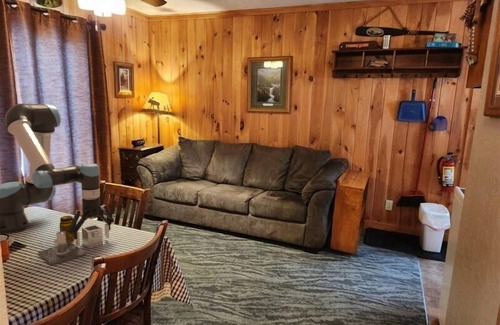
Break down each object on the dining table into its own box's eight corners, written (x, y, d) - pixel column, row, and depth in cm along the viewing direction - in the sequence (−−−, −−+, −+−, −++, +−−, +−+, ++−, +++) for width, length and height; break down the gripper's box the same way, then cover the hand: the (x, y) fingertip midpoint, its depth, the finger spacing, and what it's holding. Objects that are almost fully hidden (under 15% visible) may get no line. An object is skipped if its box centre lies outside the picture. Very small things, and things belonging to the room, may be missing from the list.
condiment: (76, 242, 157) (75, 218, 155) (55, 246, 153) (54, 221, 151) (74, 237, 163) (73, 213, 161) (54, 240, 158) (53, 216, 156)
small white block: (82, 244, 156) (81, 227, 154) (96, 240, 161) (96, 224, 159) (90, 249, 151) (89, 232, 149) (104, 245, 155) (104, 229, 154)
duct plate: (38, 253, 144) (36, 232, 142) (72, 244, 154) (71, 224, 153) (50, 265, 134) (49, 242, 133) (86, 255, 145) (85, 233, 143)
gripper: (65, 204, 141) (67, 251, 144) (120, 194, 159) (121, 236, 163) (58, 200, 145) (61, 246, 149) (113, 191, 164) (114, 232, 167)
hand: (92, 241), depth 156 cm, fingers open, 13 cm apart
